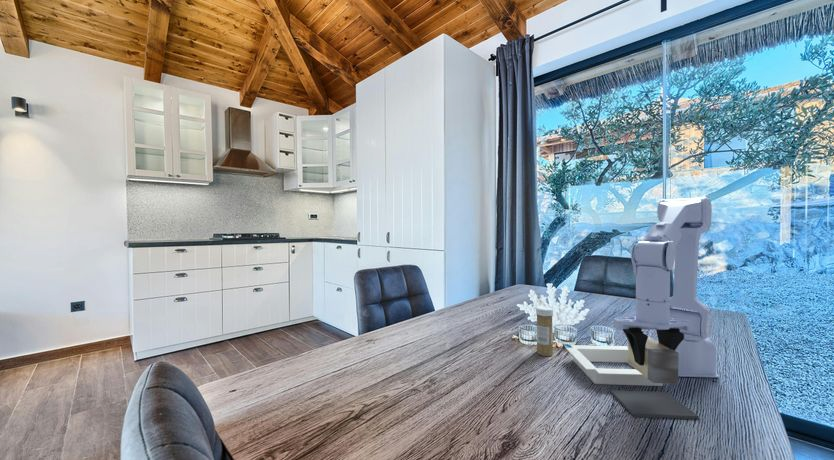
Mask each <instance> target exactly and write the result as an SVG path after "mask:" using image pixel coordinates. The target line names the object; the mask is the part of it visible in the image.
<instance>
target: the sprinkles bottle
mask: <svg viewBox="0 0 834 460" xmlns="http://www.w3.org/2000/svg"><path fill="white" fill-rule="evenodd" d="M535 310H536V311H535V313H536V353H537V354H538V355H540V356H544V357H550V356H553V354H554V349H553V347H554V346H553V342H554V340H553V333H554V332H553V316H554V310H553V307H550V306H547V305H546V306H545V305H542V306H536V309H535Z"/></svg>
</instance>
